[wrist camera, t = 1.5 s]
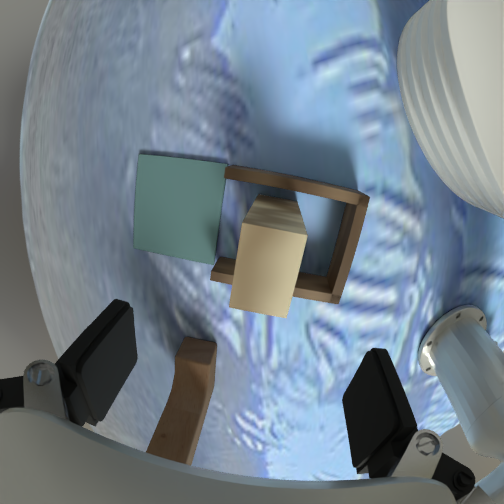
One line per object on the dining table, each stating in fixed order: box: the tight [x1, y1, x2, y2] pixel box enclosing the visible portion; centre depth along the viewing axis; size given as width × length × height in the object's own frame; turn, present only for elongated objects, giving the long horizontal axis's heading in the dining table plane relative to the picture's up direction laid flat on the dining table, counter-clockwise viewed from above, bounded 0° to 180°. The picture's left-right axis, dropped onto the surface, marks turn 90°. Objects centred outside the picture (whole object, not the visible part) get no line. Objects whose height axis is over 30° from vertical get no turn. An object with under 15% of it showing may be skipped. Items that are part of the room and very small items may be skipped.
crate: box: [210, 165, 370, 304], centre depth 27 cm, size 13×11×4 cm
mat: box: [133, 154, 228, 265], centre depth 29 cm, size 10×11×1 cm
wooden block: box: [146, 337, 217, 465], centre depth 28 cm, size 9×4×18 cm, turn 173°
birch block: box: [229, 194, 308, 318], centre depth 23 cm, size 4×6×12 cm, turn 171°
